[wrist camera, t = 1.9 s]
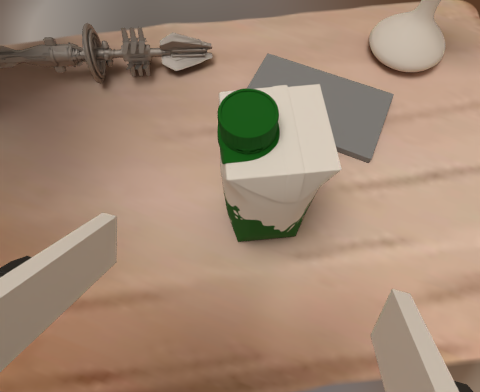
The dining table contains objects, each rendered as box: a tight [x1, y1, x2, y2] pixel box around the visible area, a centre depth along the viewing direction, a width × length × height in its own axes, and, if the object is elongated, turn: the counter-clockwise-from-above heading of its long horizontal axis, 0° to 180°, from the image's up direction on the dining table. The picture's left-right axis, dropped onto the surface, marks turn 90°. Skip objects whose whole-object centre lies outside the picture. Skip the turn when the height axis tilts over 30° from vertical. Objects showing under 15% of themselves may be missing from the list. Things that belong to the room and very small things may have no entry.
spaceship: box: [0, 23, 212, 83], centre depth 44 cm, size 8×35×8 cm
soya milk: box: [218, 84, 342, 242], centre depth 28 cm, size 9×9×20 cm
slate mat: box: [247, 54, 394, 163], centre depth 44 cm, size 20×12×1 cm, turn 65°
